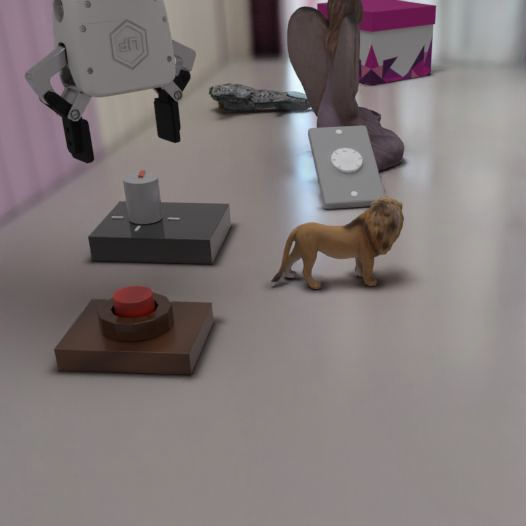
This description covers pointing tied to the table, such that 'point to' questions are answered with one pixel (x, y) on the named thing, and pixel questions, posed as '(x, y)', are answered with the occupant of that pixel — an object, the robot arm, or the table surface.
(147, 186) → the knob
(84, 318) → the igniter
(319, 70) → the figurine
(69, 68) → the robot arm
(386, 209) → the lion figurine
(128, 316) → the button
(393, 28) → the decorative box
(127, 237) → the dark grey dial base
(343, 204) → the light switch
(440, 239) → the table surface
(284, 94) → the jagged slate chunk
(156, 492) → the table surface
